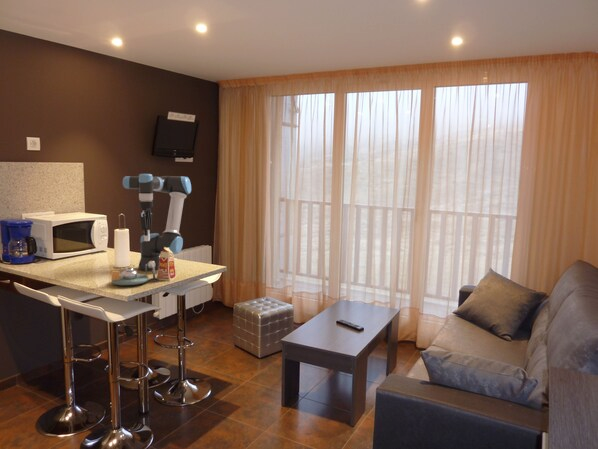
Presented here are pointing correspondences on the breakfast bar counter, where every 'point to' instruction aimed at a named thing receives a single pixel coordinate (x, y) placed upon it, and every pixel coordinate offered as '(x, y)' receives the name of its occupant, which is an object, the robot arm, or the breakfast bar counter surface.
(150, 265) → the dial indicator
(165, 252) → the milk carton
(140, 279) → the turntable
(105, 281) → the breakfast bar counter surface
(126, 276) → the cover
